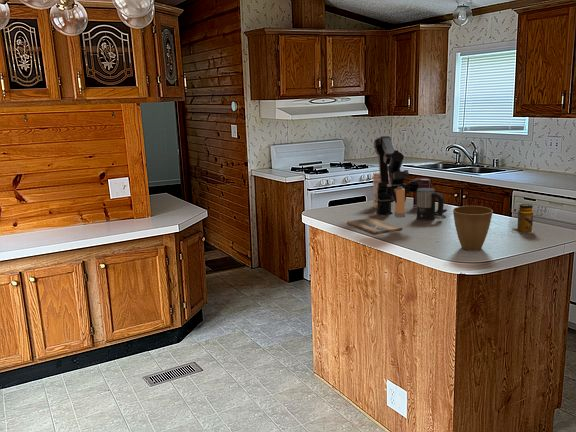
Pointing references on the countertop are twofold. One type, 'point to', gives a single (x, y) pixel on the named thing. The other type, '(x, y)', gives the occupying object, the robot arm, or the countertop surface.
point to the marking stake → (400, 202)
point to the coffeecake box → (375, 182)
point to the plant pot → (472, 225)
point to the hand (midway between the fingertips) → (400, 202)
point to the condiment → (524, 219)
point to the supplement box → (422, 184)
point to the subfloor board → (374, 225)
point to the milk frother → (428, 204)
